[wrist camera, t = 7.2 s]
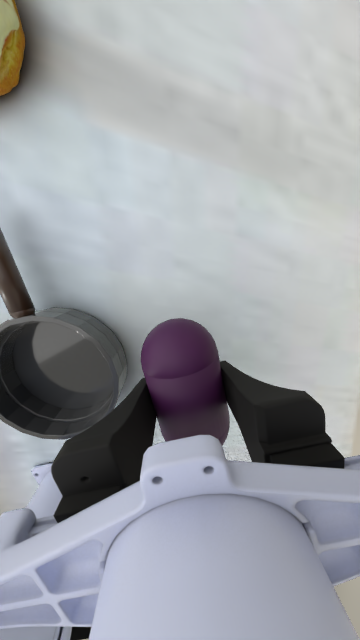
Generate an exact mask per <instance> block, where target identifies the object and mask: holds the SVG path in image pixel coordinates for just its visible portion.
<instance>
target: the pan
mask: <svg viewBox="0 0 360 640" xmlns="http://www.w3.org/2000/svg"><path fill="white" fill-rule="evenodd" d="M126 377H127V360H126V357H125V354H124V351H123V348H122V345H121V343H120V342H119V340H118V339H117V338H116V336H115V335H114V333H113V332H112V331H111V329H109V328H108V327H107V326H105V325H104V324H103V323H101V322H100V321H99V320H98V319H96V318H95V317H93V316H90V315H88V314H85V313H83V312H80V311H78V310H74V309H67V308H55V307H54V308H49V309H44V310H40V311H35V313H34V314H31V315H28V316H24V317H20V318H16V319H14V318H13V319H10V320H7V321H5V322H4V323H2V324H1V325H0V419H1V420H2V421H3V422H4V423H6V424H8V425H10V426H11V427H13V428H15V429H17V430H18V431H20V432H22V433H26V434H29V435H32V436H36V437H39V438H43V439H68V438H72V437H74V436H76V435H78V434H80V433H82V432H83V431H85V430H87V429H88V428H90V427H91V426H93V425H94V424H96V423H97V422H99V421H100V420H101V419H103V418H104V417H105V416H107V415H108V414H109V413H110V412H112V411H113V409H114V407H115V404H116V402H117V400H118V397H119V395H120V392H121V390H122V388H123V385H124V383H125V380H126Z"/></svg>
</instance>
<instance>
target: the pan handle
mask: <svg viewBox="0 0 360 640" xmlns="http://www.w3.org/2000/svg"><path fill="white" fill-rule="evenodd" d="M0 294H1V297H2V299H3V301H4V303H5V305H6V307H7V309H8V311H9V314H10V315H11V316H12V317H13V318H14V319H16V318H20V317H24V316H28V315H31V314H34V313H35V308H34V305H33V303H32V301H31V298H30V296H29V294H28V291H27V289H26V287H25V284H24V282H23V280H22V277H21V275H20V273H19V270H18V268H17V266H16V263H15V261H14V259H13V256H12V254H11V252H10V250H9V247H8V245H7V243H6V240H5V238H4V236H3V233H2V231H1V229H0Z"/></svg>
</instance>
